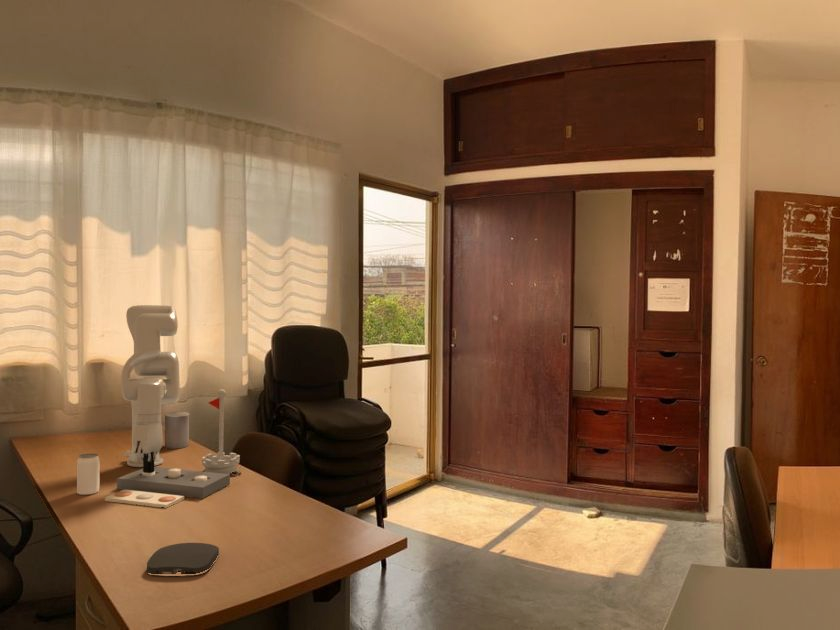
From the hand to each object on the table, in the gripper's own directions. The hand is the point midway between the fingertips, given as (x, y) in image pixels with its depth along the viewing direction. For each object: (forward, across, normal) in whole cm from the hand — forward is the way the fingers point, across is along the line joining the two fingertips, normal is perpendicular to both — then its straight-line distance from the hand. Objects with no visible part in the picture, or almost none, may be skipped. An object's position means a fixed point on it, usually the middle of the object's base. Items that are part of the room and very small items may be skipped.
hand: (148, 472), depth 221 cm
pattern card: (+4, +15, +10) cm, 18 cm away
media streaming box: (+5, +53, +50) cm, 73 cm away
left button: (+3, 0, 0) cm, 3 cm away
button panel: (+4, 0, +10) cm, 11 cm away
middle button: (+2, 0, +10) cm, 10 cm away
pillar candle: (+4, -50, -24) cm, 56 cm away
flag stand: (+4, -22, +14) cm, 26 cm away
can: (+4, +14, -12) cm, 19 cm away
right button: (+3, 0, +20) cm, 20 cm away
